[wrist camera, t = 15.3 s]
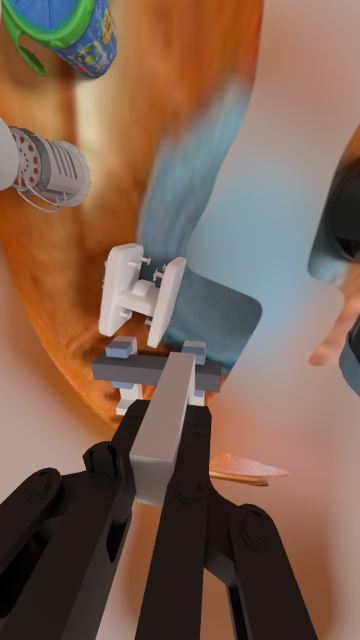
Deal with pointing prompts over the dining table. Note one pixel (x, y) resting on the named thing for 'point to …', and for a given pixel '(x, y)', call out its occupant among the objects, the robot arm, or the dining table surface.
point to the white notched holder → (131, 391)
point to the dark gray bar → (151, 371)
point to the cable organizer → (138, 292)
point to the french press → (42, 167)
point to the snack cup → (64, 31)
